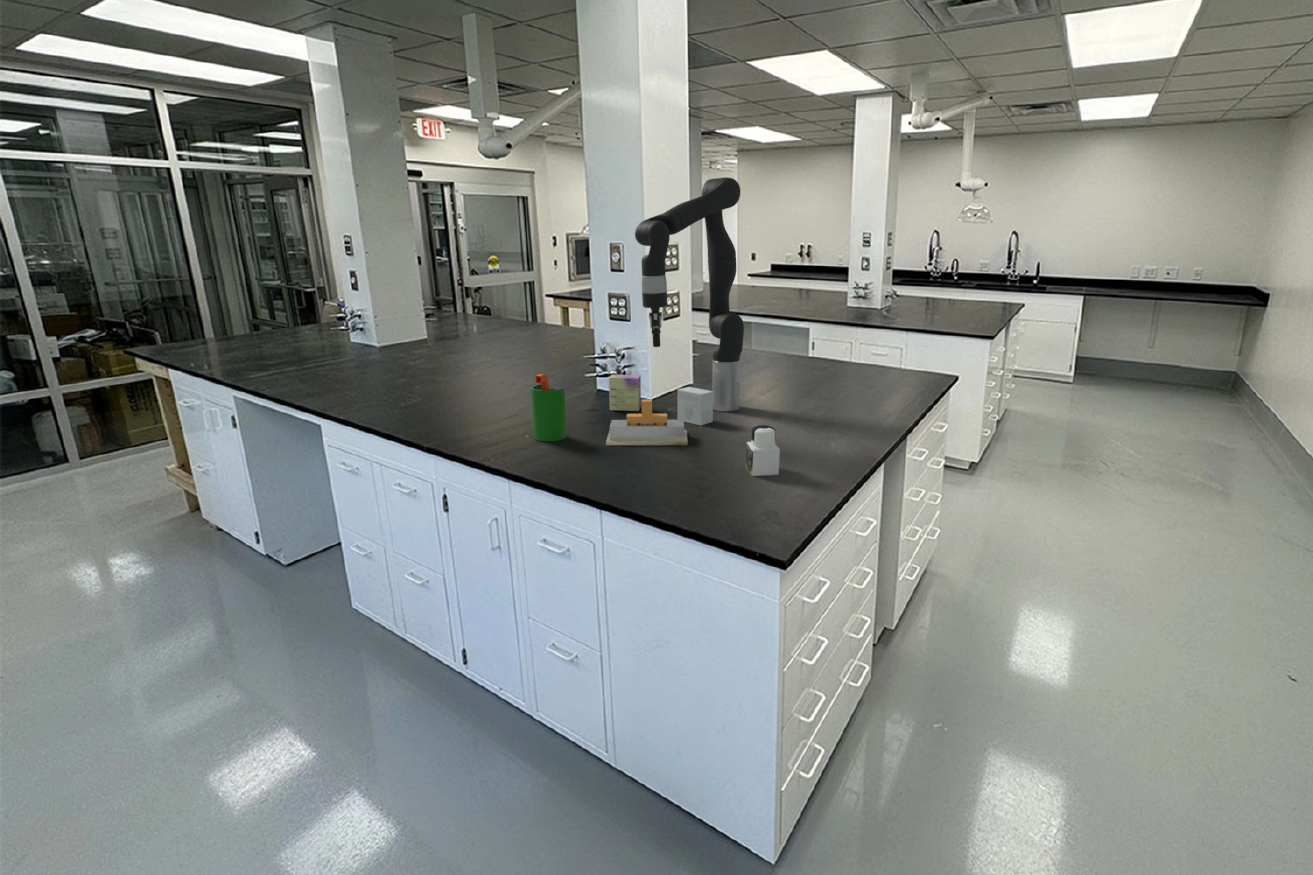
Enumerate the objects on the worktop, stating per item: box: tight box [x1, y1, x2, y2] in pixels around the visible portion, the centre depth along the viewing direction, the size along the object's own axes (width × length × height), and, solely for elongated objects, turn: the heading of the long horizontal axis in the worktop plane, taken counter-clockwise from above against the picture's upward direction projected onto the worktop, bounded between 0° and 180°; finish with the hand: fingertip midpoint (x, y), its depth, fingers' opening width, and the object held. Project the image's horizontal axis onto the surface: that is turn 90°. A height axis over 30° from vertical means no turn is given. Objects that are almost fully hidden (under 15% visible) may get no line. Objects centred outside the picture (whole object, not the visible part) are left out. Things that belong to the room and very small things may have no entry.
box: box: [608, 374, 642, 412], centre depth 228 cm, size 10×6×12 cm, turn 84°
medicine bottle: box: [745, 424, 781, 477], centre depth 169 cm, size 7×7×12 cm
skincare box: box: [676, 386, 714, 427], centre depth 213 cm, size 10×6×10 cm, turn 47°
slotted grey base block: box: [605, 419, 689, 446], centre depth 196 cm, size 24×12×5 cm, turn 89°
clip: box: [626, 398, 668, 425], centre depth 195 cm, size 12×3×11 cm, turn 89°
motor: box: [530, 373, 567, 442], centre depth 197 cm, size 10×9×20 cm
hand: (656, 344), depth 201 cm, fingers open, 8 cm apart
